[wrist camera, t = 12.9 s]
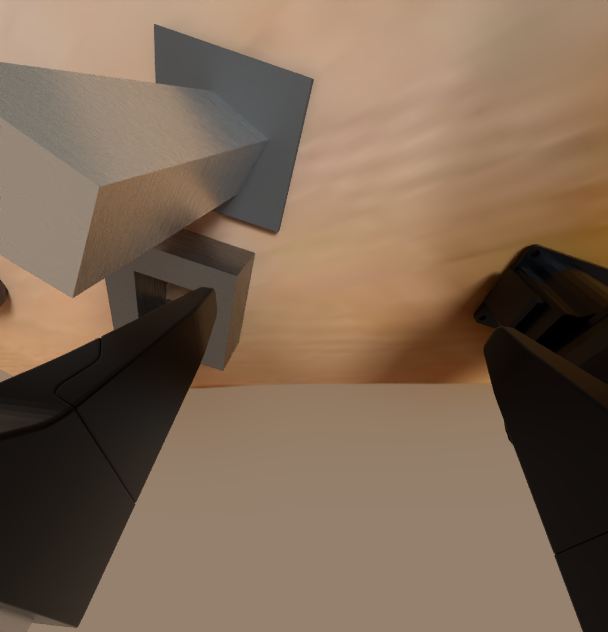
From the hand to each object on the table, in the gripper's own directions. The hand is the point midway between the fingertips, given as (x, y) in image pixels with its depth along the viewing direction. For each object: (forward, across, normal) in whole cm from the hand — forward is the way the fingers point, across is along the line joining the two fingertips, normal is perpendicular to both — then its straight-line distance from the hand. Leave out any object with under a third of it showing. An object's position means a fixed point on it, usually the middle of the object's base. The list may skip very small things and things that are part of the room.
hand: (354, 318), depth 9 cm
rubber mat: (+14, +8, -2) cm, 16 cm away
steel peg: (+13, +8, -2) cm, 16 cm away
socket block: (+14, +12, +9) cm, 20 cm away
